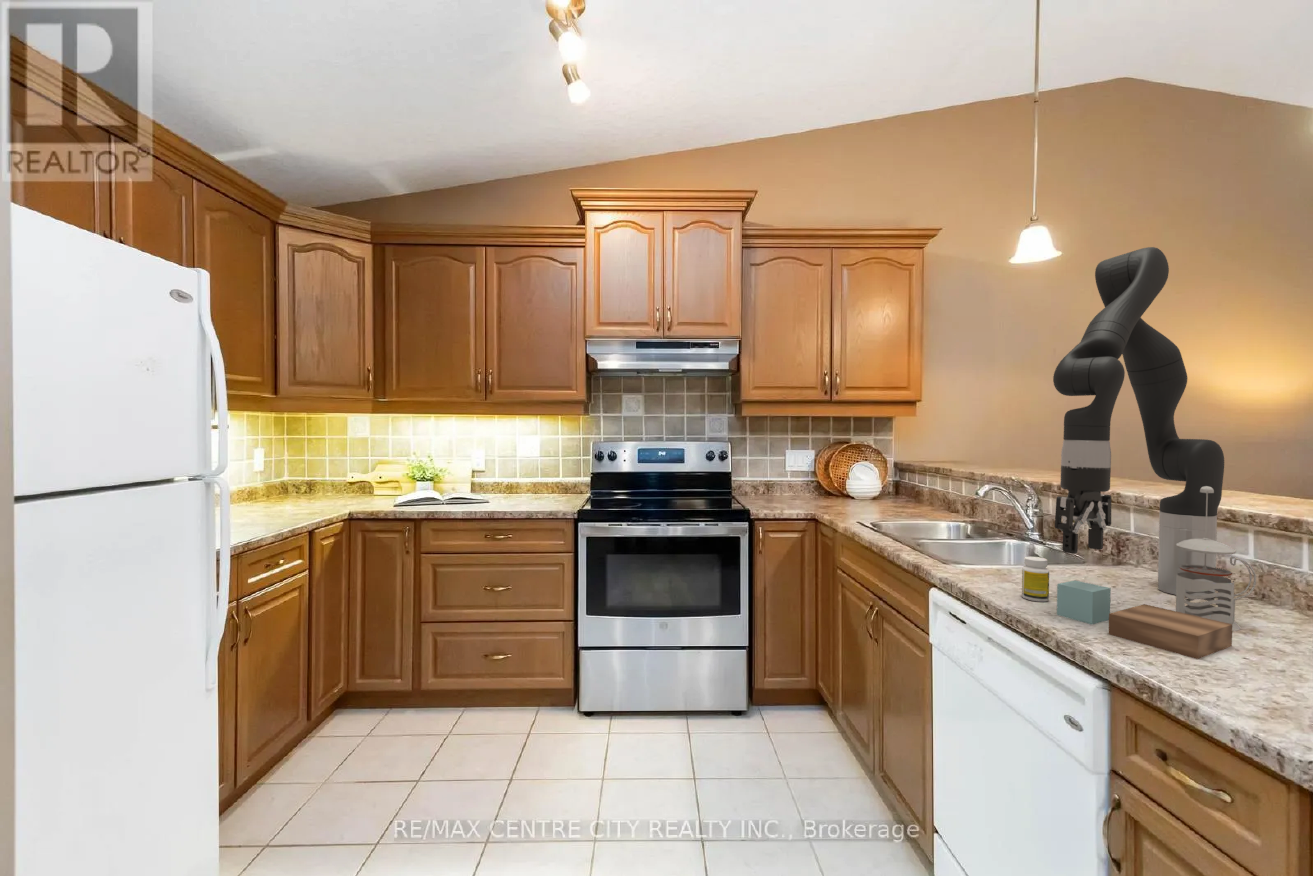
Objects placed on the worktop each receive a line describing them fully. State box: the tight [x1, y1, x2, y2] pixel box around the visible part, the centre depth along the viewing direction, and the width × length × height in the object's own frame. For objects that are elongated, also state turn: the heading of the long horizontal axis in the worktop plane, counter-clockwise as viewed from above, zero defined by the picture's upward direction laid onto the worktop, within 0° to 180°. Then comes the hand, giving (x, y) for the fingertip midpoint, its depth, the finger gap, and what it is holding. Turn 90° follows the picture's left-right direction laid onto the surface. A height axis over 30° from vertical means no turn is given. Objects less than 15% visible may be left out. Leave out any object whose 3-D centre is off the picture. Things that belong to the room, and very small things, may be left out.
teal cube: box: [1056, 580, 1111, 625], centre depth 110 cm, size 6×6×6 cm
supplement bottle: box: [1021, 556, 1050, 603], centre depth 121 cm, size 5×5×8 cm
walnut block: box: [1108, 603, 1233, 660], centre depth 98 cm, size 12×12×4 cm
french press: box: [1175, 486, 1257, 632], centre depth 107 cm, size 10×12×25 cm
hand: (1082, 550), depth 110 cm, fingers open, 8 cm apart
